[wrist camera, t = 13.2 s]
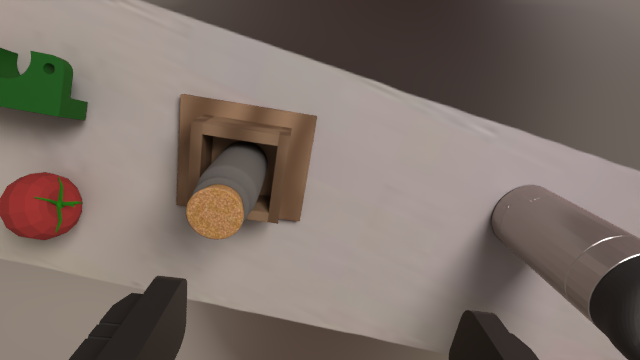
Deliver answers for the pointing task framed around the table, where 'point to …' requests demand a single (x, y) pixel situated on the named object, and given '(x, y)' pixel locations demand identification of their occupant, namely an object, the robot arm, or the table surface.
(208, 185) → the bottle
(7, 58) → the clamp
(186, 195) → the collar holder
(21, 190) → the tomato
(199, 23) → the table surface
